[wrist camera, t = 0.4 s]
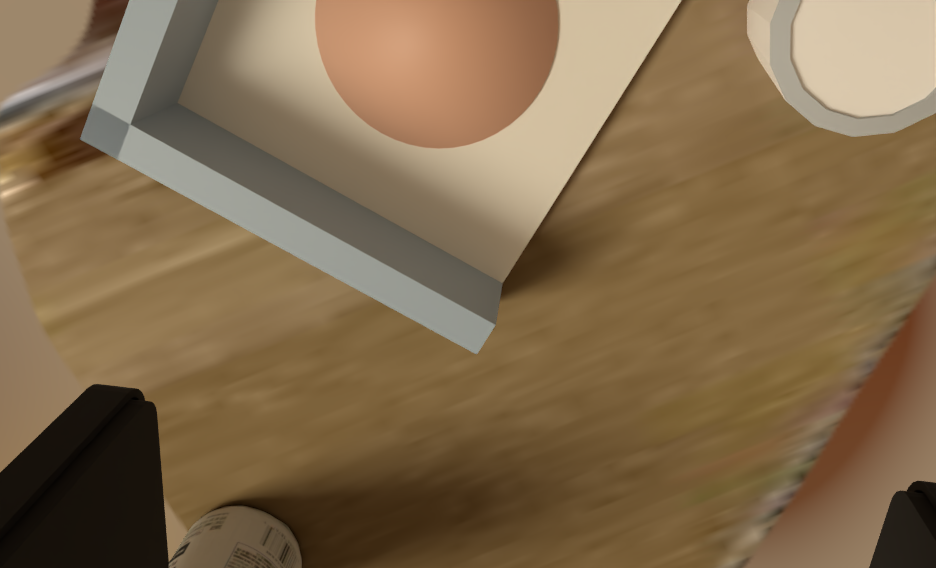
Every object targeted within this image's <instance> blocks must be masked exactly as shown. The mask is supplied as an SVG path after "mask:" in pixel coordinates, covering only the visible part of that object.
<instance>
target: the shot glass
mask: <svg viewBox="0 0 936 568" xmlns="http://www.w3.org/2000/svg"><path fill="white" fill-rule="evenodd" d="M747 35H748V37H749V40H750V42H751V44H752V46H753V49H754V51H755V53H756V55H757V58H758V60H759V61H760V63H761V64H762V66H763V67H764V69H765V70H766V72H767V73H768V75H769V76H770V78H771V79H772V81H773V82H774V84H775V85H776V87H777V88H778V90H779V91H780V93H781V94H782V96H783V97H784V99H785V100H786V101H787V102H788V103H789V104H790V105H791V106H792V107H793V108H795V109H796V110H797V111H798V112H799V113H800V114H802V115H803V116H804V117H805V118H806V119H807V120H809V121H810V122H811V123H812V124H813V125H814V126H817V127H821V128H824V129H828V130H831V131H834V132H838V133H841V134H845V135H848V136H852V137H856V136H866V135H876V134H886V133H895V132H897V131H899V130H901V129H903V128H905V127H907V126H910V125H912V124H914V123H916V122H918V121H920V120H922V119H924V118H926V117H929V116H931V115H933V114H935V113H936V0H749V2H748V5H747Z"/></svg>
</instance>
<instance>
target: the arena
mask: <svg viewBox="0 0 936 568" xmlns="http://www.w3.org/2000/svg"><path fill="white" fill-rule="evenodd" d="M680 2H681V0H130V1H129V3H128V6H127V9H126V12H125V15H124V17H123V20H122V23H121V26H120V29H119V31H118V34H117V37H116V40H115V43H114V45H113V48H112V51H111V54H110V57H109V59H108V62H107V65H106V68H105V71H104V73H103V76H102V79H101V82H100V85H99V87H98V90H97V93H96V96H95V99H94V101H93V104H92V107H91V110H90V113H89V115H88V118H87V121H86V124H85V127H84V129H83V132H82V135H81V138H80V139H81V140H82V141H84V142H86V143H88V144H90V145H92V146H94V147H95V148H97V149H99V150H101V151H103V152H105V153H106V154H108V155H110V156H112V157H114V158H116V159H117V160H119V161H121V162H123V163H125V164H127V165H129V166H130V167H132V168H134V169H136V170H138V171H140V172H141V173H143V174H145V175H147V176H149V177H151V178H152V179H154V180H156V181H158V182H160V183H162V184H164V185H165V186H167V187H169V188H171V189H173V190H175V191H176V192H178V193H180V194H182V195H184V196H186V197H188V198H189V199H191V200H193V201H195V202H197V203H199V204H200V205H202V206H204V207H206V208H208V209H210V210H211V211H213V212H215V213H217V214H219V215H221V216H223V217H224V218H226V219H228V220H230V221H232V222H234V223H235V224H237V225H239V226H241V227H243V228H245V229H246V230H248V231H250V232H252V233H254V234H256V235H258V236H259V237H261V238H263V239H265V240H267V241H269V242H270V243H272V244H274V245H276V246H278V247H280V248H281V249H283V250H285V251H287V252H289V253H291V254H293V255H294V256H296V257H298V258H300V259H302V260H304V261H305V262H307V263H309V264H311V265H313V266H315V267H317V268H318V269H320V270H322V271H324V272H326V273H328V274H329V275H331V276H333V277H335V278H337V279H339V280H340V281H342V282H344V283H346V284H348V285H350V286H352V287H353V288H355V289H357V290H359V291H361V292H363V293H364V294H366V295H368V296H370V297H372V298H374V299H375V300H377V301H379V302H381V303H383V304H385V305H387V306H388V307H390V308H392V309H394V310H396V311H398V312H399V313H401V314H403V315H405V316H407V317H409V318H410V319H412V320H414V321H416V322H418V323H420V324H422V325H423V326H425V327H427V328H429V329H431V330H433V331H434V332H436V333H438V334H440V335H442V336H444V337H445V338H447V339H449V340H451V341H453V342H455V343H457V344H458V345H460V346H462V347H464V348H466V349H468V350H469V351H471V352H473V353H475V354H477V353H478V352H479V350H480V349H481V347H482V345H483V344H484V342H485V341H486V339H487V338H488V336H489V335H490V333H491V332H492V330H493V328H494V327H495V325H496V320H497V314H498V308H499V302H500V296H501V290H502V284H503V282H504V281H505V279H506V277H507V276H508V274H509V273H510V271H511V269H512V268H513V266H514V265H515V263H516V262H517V260H518V258H519V257H520V255H521V254H522V252H523V250H524V249H525V247H526V246H527V244H528V243H529V241H530V239H531V238H532V236H533V235H534V233H535V231H536V230H537V228H538V227H539V225H540V224H541V222H542V220H543V219H544V217H545V216H546V214H547V212H548V211H549V209H550V208H551V206H552V205H553V203H554V201H555V200H556V198H557V197H558V195H559V193H560V192H561V190H562V189H563V187H564V186H565V184H566V182H567V181H568V179H569V178H570V176H571V174H572V173H573V171H574V170H575V168H576V167H577V165H578V163H579V162H580V160H581V159H582V157H583V155H584V154H585V152H586V151H587V149H588V148H589V146H590V144H591V143H592V141H593V140H594V138H595V137H596V135H597V133H598V132H599V130H600V129H601V127H602V125H603V124H604V122H605V121H606V119H607V118H608V116H609V114H610V113H611V111H612V110H613V108H614V106H615V105H616V103H617V102H618V100H619V99H620V97H621V95H622V94H623V92H624V91H625V89H626V87H627V86H628V84H629V83H630V81H631V80H632V78H633V76H634V75H635V73H636V72H637V70H638V68H639V67H640V65H641V64H642V62H643V61H644V59H645V57H646V56H647V54H648V53H649V51H650V49H651V48H652V46H653V45H654V43H655V42H656V40H657V38H658V37H659V35H660V34H661V32H662V30H663V29H664V27H665V26H666V24H667V23H668V21H669V19H670V18H671V16H672V15H673V13H674V11H675V10H676V8H677V7H678V5H679V4H680Z"/></svg>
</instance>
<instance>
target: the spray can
mask: <svg viewBox="0 0 936 568" xmlns="http://www.w3.org/2000/svg"><path fill="white" fill-rule="evenodd" d="M301 567H302V559H301V554H300V549H299V544H298V542H297V540H296V538H295V536H294V535H293V533H292V532H291V530H290V529H289V527H288V526H287V525H286V524H284V523H283V522H281V521H279V520H278V519H276V518H274V517H273V516H271V515H270V514H268V513H266V512H264V511H261V510H258V509H255V508H251V507H248V506H242V505H240V506H226V507H223V508H220V509H217V510H214V511H211V512H209V513H207V514H206V515H204V516H203V517H201V518H200V519H199V520H198V521H197V522H196V523H195V524H194V525H193V526H192V527H191V528H190V530H189V531H188V533H187V535H186V536H185V538H184V539H183V541H182V543H181V544H180V546H179V548H178V549H177V551H176V553H175V554H174V556H173V558H172V559H171V561H170V562H169V568H301Z"/></svg>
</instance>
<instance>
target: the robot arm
mask: <svg viewBox="0 0 936 568" xmlns="http://www.w3.org/2000/svg"><path fill="white" fill-rule="evenodd" d="M167 549H168V548H167V536H166V524H165V510H164V497H163V484H162V471H161V459H160V446H159V433H158V420H157V411H156V407H155V405H154V403H152V402H150V401H145V398H144V395H143V393H142V392H141V391H140V390H139V389H135V388H126V387H118V386H109V385H101V384H94V385H92V386H90V387H89V388H87V389H86V390H85V391H84V392H83V393H82V394H81V395H80V396H79V397H78V398H77V399H76V400H75V401H74V402H73V403H72V404H71V405H70V406H69V407H68V408H67V409H66V410H65V411H64V412H63V413H62V414H61V415H59V417H57V418H56V419H55V420H54V421H53V422H52V423H51V424H50V425H49V426H48V427H47V428H46V429H45V430H44V431H43V432H42V433H41V434H40V435H39V436H38V437H37V438H36V439H35V440H34V441H33V442H32V443H31V444H30V445H28V446H27V447H26V449H24V450H23V451H22V452H21V453H20V454H19V455H18V456H17V457H16V458H15V459H14V460H13V461H12V462H11V463H10V464H9V465H8V466H7V467H6V468H5V469H4V470H3V471H1V472H0V568H169V561H168V550H167ZM869 568H936V483H933V482H924V481H916V482H913V483H912V484H911V485H910V487H908V490H907V491H898V492H896V493H895V495H894V496H893V498H892V500H891V503H890V506H889V509H888V512H887V515H886V518H885V521H884V524H883V527H882V530H881V533H880V536H879V539H878V543H877V546H876V549H875V552H874V555H873V558H872V561H871V564H870V567H869Z"/></svg>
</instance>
